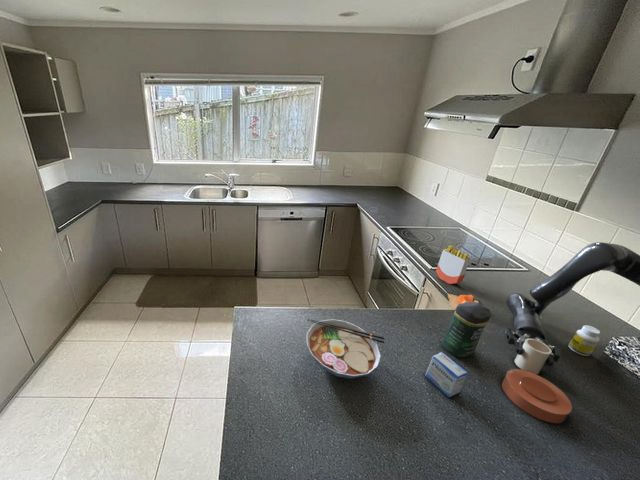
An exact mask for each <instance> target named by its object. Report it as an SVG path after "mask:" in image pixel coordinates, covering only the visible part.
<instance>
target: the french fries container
mask: <svg viewBox="0 0 640 480" xmlns="http://www.w3.org/2000/svg"><path fill="white" fill-rule="evenodd" d="M439 257H440V258H439V260H438V264H437V266H436V270H435V273H436V275H437V277H438V279H440V280H442V281H443V282H445V283H446V284H449V285H452V284H458V283H462V282H463V281H464V278H465V276H466V272H467V269H468V265H469V261H470V259H471V257H469V254H467V253H463V252H462V250H461V249H458V250H457V249H456V247H454V246H452V245H448V246H447V248H444V249H442V252H441V255H440V256H439Z"/></svg>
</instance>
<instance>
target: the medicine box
mask: <svg viewBox="0 0 640 480" xmlns="http://www.w3.org/2000/svg"><path fill="white" fill-rule="evenodd" d="M468 374H469V373H468V372H467V370H465V369H464V368H463V367H461V366H460V365H459V364H457V363H456V362H455V361H454V360H453V359H451V358H450V357H449V356H448V355H446V354H445V353H444V352H439V353H436V354H435V355H433V356H432V357H431V360H430V363H429V366H428V368H427V370H426V373H425V377H426V378H427V380H429V381H430V382H431V383H432V384H433V385H435V387H437V388H438V389H439V390H440V391H441V392H442V393H443V394H444V395H446V396H447V397H448V398H451V397H453V396H455V395H457V394H459V393H460V391H461V388H462V386H463V384H464V382H465V380H466V378H467V376H468Z"/></svg>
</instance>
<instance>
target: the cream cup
mask: <svg viewBox="0 0 640 480" xmlns="http://www.w3.org/2000/svg"><path fill="white" fill-rule="evenodd" d="M522 346H523V353H522V354H521V355H518V354H516V356H515V358H514V363H515V365H516V366H517V367H518V369H520V370H525V371H528V372H531V373H534V374H536V375H538V374H540V372H541V371H542V369H543V367H544V366H545V365H546V363H545V362H546V361H547V359H548V357H549V356H550V354H551V352H552V351H551V349H550V348H549V347H548V346H547V345H545V344H544V343H542V342H540V341H538V340H535V339H526V340H525V342H524V343H523V345H522Z"/></svg>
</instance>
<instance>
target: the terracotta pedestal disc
mask: <svg viewBox="0 0 640 480" xmlns="http://www.w3.org/2000/svg"><path fill="white" fill-rule="evenodd" d="M501 387H502V390H503V392H504V394H505V395H506V396H507V397H508V399H510V401H511V402H512V403H514V404H515V406H517V407H518V408H519V409H520V410H522V411H524V412H525V413H527V414H528V415H530V416H532V417H534V418H536V419H538V420H541V421H544V422H547V423H552V424H561V423H564V422H565V421H566V420H567V418H568V417H569V415H570V414H571V413H572V411H573V406H572V405H573V404H572V403H571V401H570V399H569V398H568V396H567V395H566V394H565V393H564V391H563V390H561V389H560V388H559V387H558V386H556V385H555V384H554V383H553V382H551V381H549V380H548V379H546V378H544V377H542V376H540V375H538V374H534V373H531V372H528V371H525V370H522V369H521V368H513V369H510V370H509V369H508V371H507V372H506V374H505V375H504V378H503V379H502V382H501Z"/></svg>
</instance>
